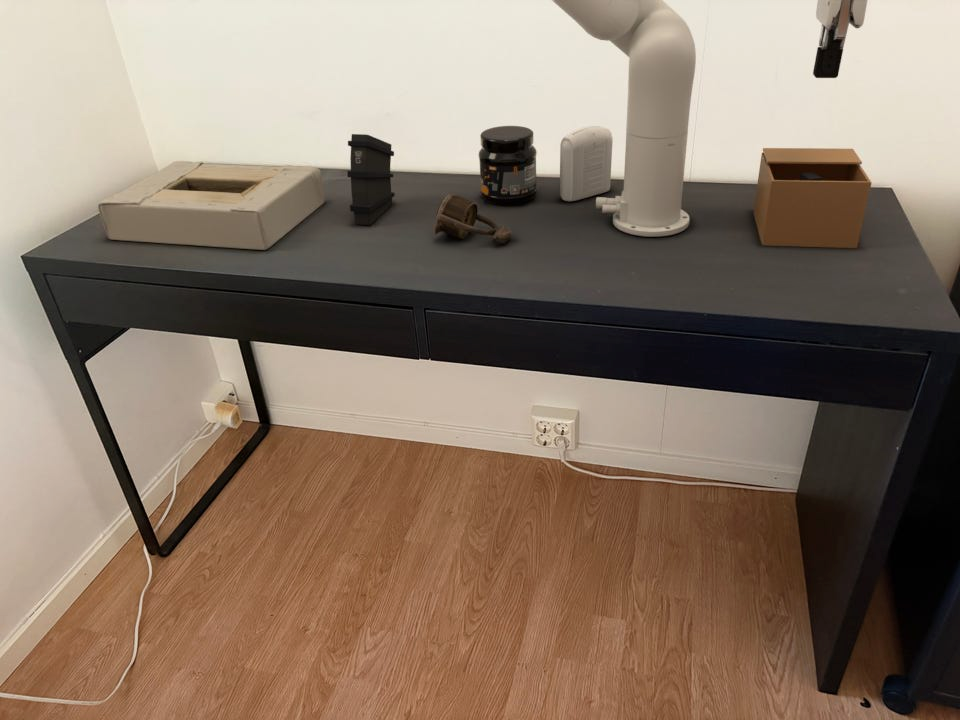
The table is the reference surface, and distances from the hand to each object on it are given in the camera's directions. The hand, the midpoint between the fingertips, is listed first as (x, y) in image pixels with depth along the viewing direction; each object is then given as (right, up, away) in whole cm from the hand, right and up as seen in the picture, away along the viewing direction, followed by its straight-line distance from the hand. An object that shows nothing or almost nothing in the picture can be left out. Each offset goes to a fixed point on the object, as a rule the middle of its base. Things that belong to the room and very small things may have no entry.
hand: (824, 76), depth 114 cm
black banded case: (-70, -15, +28) cm, 76 cm away
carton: (+1, -21, +11) cm, 23 cm away
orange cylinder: (+1, -20, +11) cm, 23 cm away
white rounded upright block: (-31, -11, +30) cm, 45 cm away
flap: (+1, -10, +8) cm, 13 cm away
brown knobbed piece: (-52, -22, +15) cm, 58 cm away
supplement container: (-45, -11, +31) cm, 56 cm away
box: (-98, -16, +28) cm, 103 cm away
